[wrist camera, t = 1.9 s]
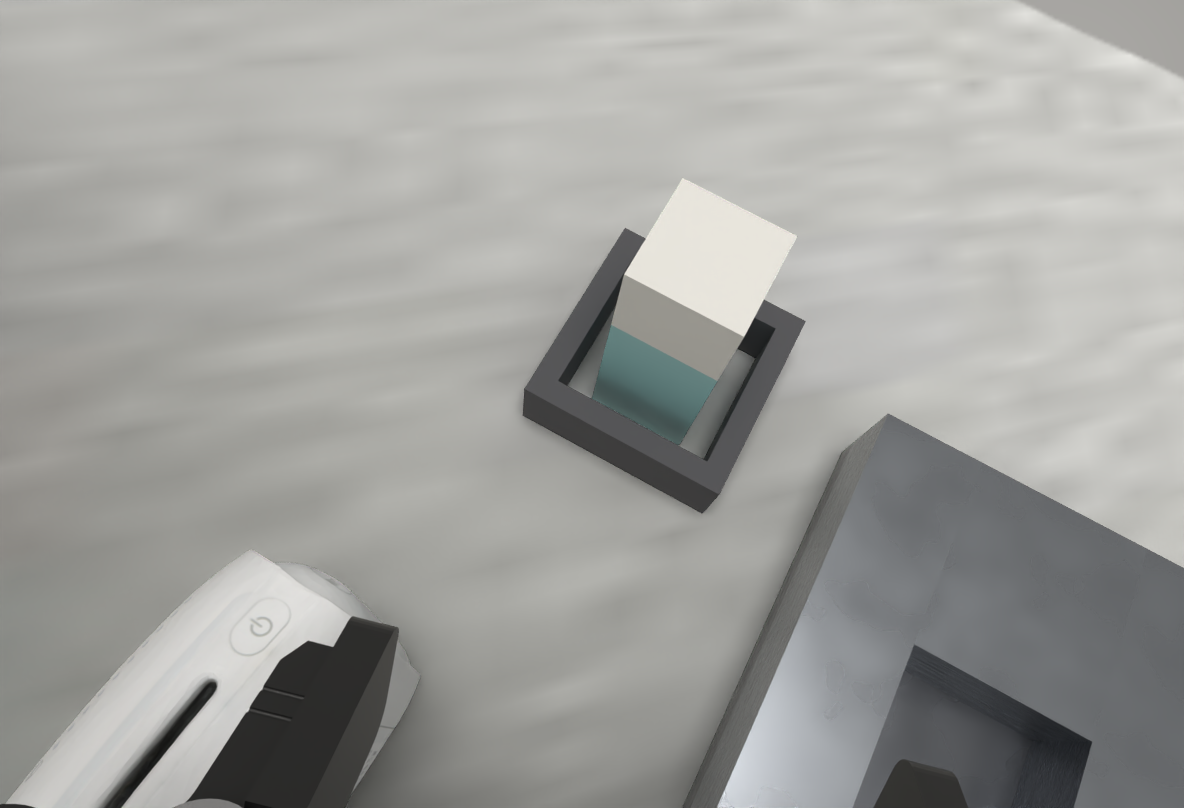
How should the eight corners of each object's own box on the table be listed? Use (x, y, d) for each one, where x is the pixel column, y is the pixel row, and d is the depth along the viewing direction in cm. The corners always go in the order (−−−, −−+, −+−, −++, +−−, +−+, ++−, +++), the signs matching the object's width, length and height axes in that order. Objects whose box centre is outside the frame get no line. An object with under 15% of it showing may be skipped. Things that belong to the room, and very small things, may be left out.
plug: (592, 398, 31) (624, 274, 23) (636, 322, 32) (682, 177, 24) (678, 445, 31) (743, 336, 22) (720, 366, 32) (797, 236, 23)
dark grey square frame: (523, 415, 30) (524, 388, 28) (616, 263, 33) (624, 227, 31) (702, 513, 30) (719, 494, 27) (783, 350, 32) (805, 321, 30)
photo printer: (335, 589, 28) (215, 488, 16) (444, 665, 27) (400, 617, 16) (99, 899, 24) (-267, 1049, 13) (220, 993, 24) (-47, 1239, 12)
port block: (608, 973, 25) (626, 1016, 21) (842, 451, 31) (887, 413, 27) (994, 1208, 24) (1086, 1298, 20) (1155, 617, 30) (1247, 601, 26)
